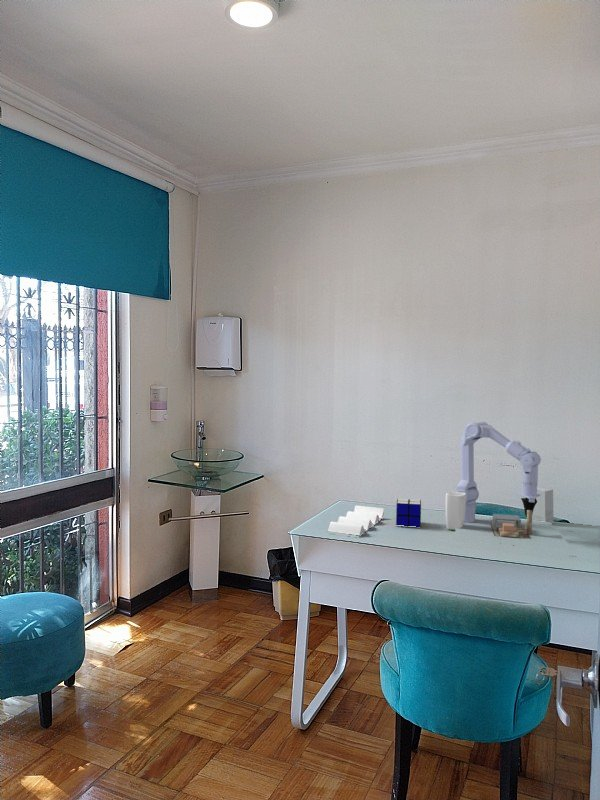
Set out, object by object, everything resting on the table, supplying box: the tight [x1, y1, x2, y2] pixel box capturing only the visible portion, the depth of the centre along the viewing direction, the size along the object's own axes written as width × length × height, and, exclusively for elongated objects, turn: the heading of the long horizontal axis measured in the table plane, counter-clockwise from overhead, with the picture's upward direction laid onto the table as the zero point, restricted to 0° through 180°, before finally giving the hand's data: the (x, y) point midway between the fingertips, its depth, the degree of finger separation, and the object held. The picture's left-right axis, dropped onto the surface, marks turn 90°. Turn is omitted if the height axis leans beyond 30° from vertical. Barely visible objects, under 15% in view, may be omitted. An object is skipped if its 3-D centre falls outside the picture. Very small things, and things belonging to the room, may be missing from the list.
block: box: [502, 522, 515, 532], centre depth 245 cm, size 4×4×4 cm
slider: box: [499, 510, 533, 538], centre depth 244 cm, size 12×8×9 cm, turn 78°
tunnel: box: [491, 513, 522, 532], centre depth 252 cm, size 10×8×5 cm
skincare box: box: [532, 486, 554, 524], centre depth 271 cm, size 8×6×15 cm
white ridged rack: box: [327, 505, 385, 537], centre depth 260 cm, size 13×35×5 cm, turn 156°
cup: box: [445, 491, 466, 531], centre depth 257 cm, size 7×7×15 cm
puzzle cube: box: [395, 498, 422, 528], centre depth 264 cm, size 10×10×10 cm
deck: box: [489, 523, 532, 540], centre depth 251 cm, size 14×20×2 cm
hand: (528, 516), depth 247 cm, fingers closed
